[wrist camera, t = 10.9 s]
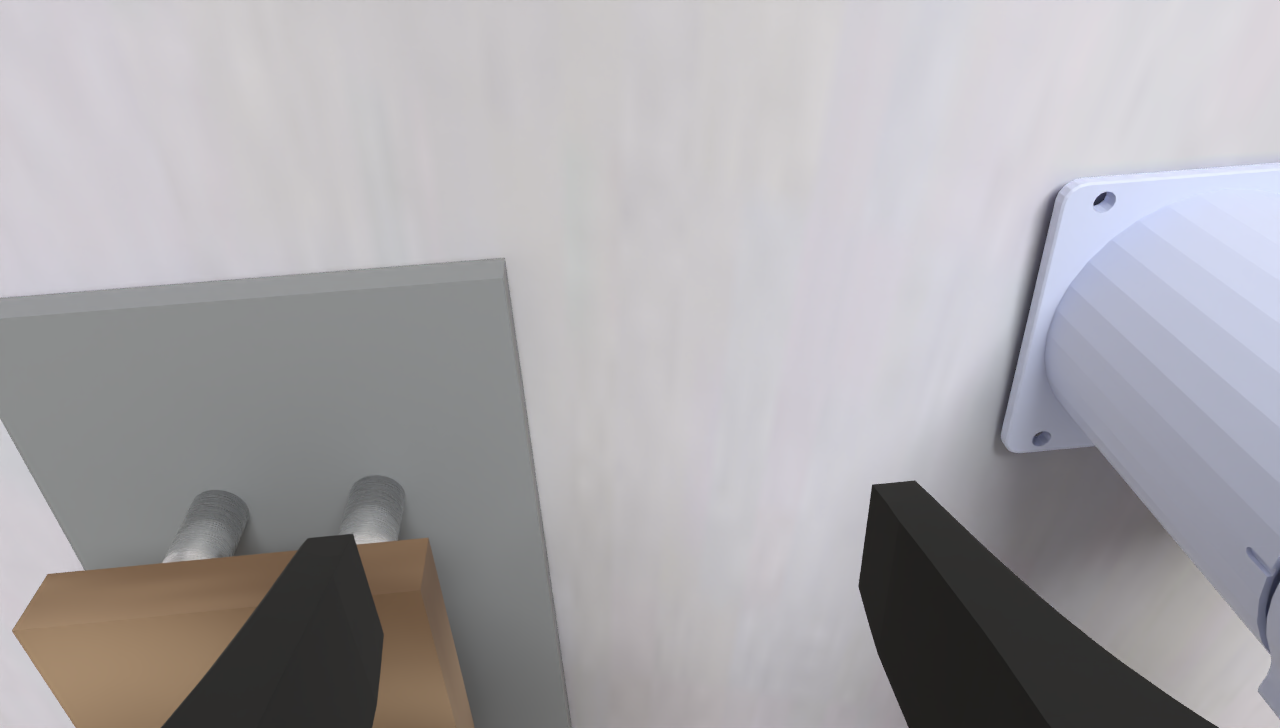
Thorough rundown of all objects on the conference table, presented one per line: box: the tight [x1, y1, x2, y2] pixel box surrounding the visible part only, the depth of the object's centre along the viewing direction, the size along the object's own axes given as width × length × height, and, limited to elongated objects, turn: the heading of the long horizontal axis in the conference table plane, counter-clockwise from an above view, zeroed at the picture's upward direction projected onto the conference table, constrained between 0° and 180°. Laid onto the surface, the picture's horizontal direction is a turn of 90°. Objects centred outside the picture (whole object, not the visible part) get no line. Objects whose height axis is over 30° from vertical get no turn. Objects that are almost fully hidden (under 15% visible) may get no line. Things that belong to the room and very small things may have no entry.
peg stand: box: [0, 258, 571, 728], centre depth 24 cm, size 12×22×4 cm, turn 2°
